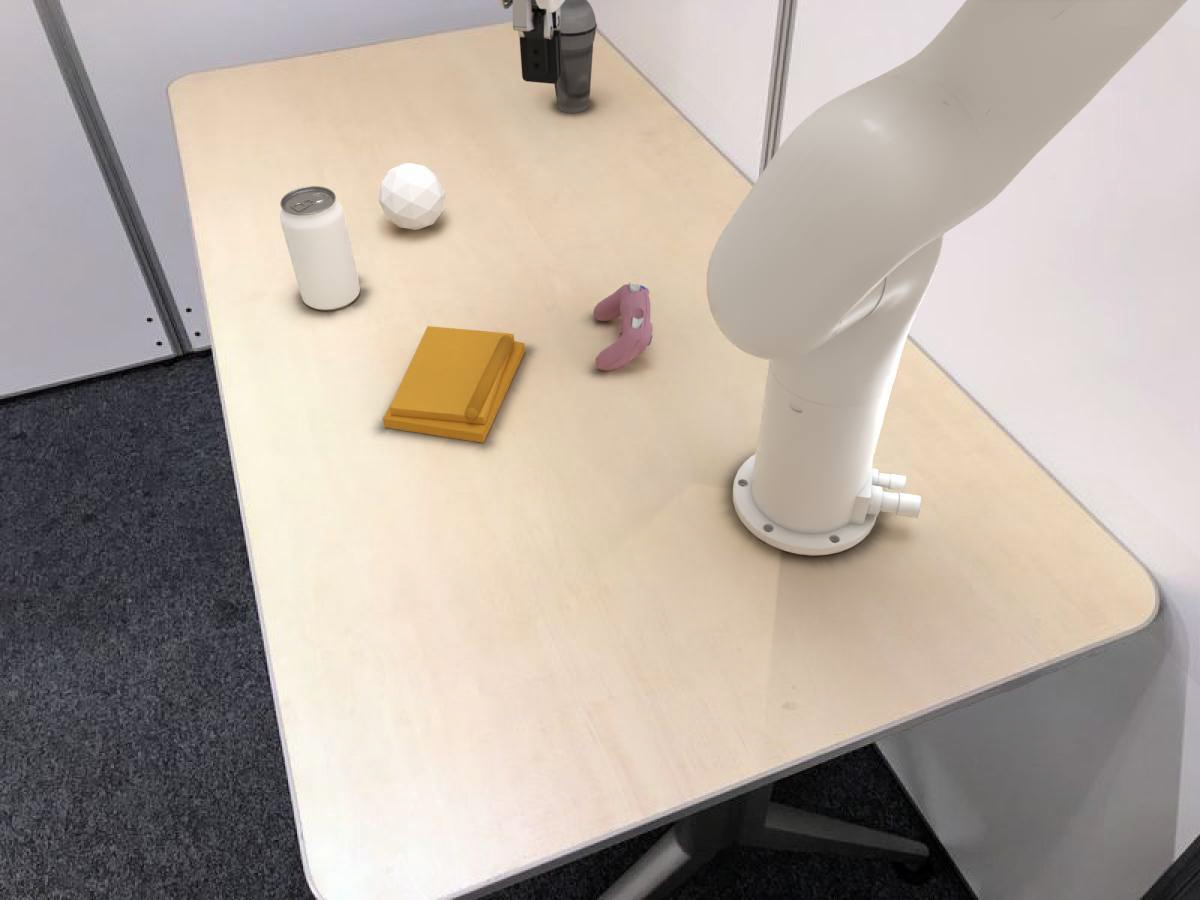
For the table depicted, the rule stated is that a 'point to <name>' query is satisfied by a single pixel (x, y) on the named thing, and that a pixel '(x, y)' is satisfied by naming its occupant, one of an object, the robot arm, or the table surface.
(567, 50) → the beverage cup
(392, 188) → the ball
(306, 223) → the can
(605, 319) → the video game controller
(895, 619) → the table surface
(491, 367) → the rag
